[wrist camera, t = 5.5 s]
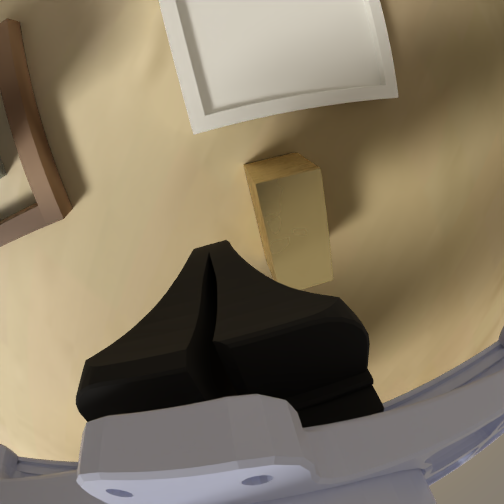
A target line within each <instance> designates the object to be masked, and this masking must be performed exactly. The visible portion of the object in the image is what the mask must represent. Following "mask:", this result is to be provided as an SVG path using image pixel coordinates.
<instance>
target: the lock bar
mask: <svg viewBox="0 0 504 504" xmlns="http://www.w3.org/2000/svg"><path fill="white" fill-rule="evenodd" d="M244 168H245V173H246V177H247V181H248V185H249V189H250V193H251V198H252V202H253V206H254V210H255V215H256V219H257V223H258V227H259V232H260V236H261V240H262V244H263V249H264V253H265V257H266V261H267V264H268V266H269V269H270V271H271V274H272V276H273V279H274V281H276V282H278V283H281V284H283V285H286V286H289V287H291V288H294V289H298V290H303V289H306V288H309V287H313V286H316V285H319V284H323V283H326V282H329V281H332V280H333V271H332V260H331V249H330V239H329V230H328V221H327V212H326V204H325V196H324V189H323V181H322V174H321V168H319V167H318V166H316V165H315V164H313V163H312V162H310V161H309V160H307V159H306V158H304V157H303V156H301V155H300V154H298V153H297V152H295V153H290V154H286V155H282V156H277V157H273V158H269V159H265V160H260V161H256V162H252V163H248V164H244Z"/></svg>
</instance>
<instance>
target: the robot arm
mask: <svg viewBox="0 0 504 504" xmlns="http://www.w3.org/2000/svg"><path fill="white" fill-rule="evenodd" d="M368 355H369V335H368V333H367V331H366V329H365V327H364V326H363V324H362V322H361V321H360V320H359V318H358V317H357V316H356V315H355V314H354V312H353V311H352V310H351V309H350V308H349V307H348V306H347V305H346V304H345V303H344V302H343V301H342V300H341V299H340V298H339V297H334V296H327V295H320V294H314V293H309V292H305V291H301V290H298V289H294V288H291V287H289V286H286V285H283V284H281V283H278V282H276V281H274V280H272V279H270V278H269V277H267V276H265V275H264V274H262V273H261V272H259V271H258V270H256V269H255V268H254V267H252V266H251V265H250V264H248V263H247V262H246V261H245V260H244V259H243V258H242V257H241V256H240V255H239V254H238V253H237V252H236V251H235V250H234V249H233V247H232V246H231V244H230V242H228V241H227V240H224V241H221V242H217V243H214V244H210V245H206V246H203V247H199V248H196V249H194V250H193V252H192V253H191V255H190V257H189V258H188V260H187V262H186V264H185V265H184V267H183V269H182V270H181V272H180V274H179V275H178V277H177V278H176V280H175V281H174V283H173V284H172V286H171V287H170V288H169V290H168V291H167V293H166V294H165V295H164V296H163V298H162V299H161V300H160V301H159V302H158V304H157V305H156V306H155V307H154V308H153V309H152V310H151V311H150V312H149V313H148V314H147V315H146V316H145V317H144V318H143V319H142V320H141V321H140V322H139V323H138V324H137V325H136V326H134V327H133V328H132V329H131V330H130V331H128V332H127V333H126V334H125V335H124V336H122V337H121V338H120V339H118V340H117V341H116V342H114V343H113V344H111V345H110V346H108V347H107V348H105V349H104V350H102V351H100V352H99V353H97V354H96V355H94V356H92V357H91V358H89V359H87V360H86V362H85V365H84V368H83V372H82V376H81V379H80V383H79V387H78V391H77V395H76V405H77V408H78V410H79V412H80V413H81V415H82V416H83V417H84V418H85V419H86V421H87V423H86V426H85V428H84V431H83V434H82V441H81V447H80V454H79V461H78V462H67V461H53V460H42V459H33V458H25V457H18V456H17V455H16V454H15V453H14V452H13V451H12V450H10V449H9V448H7V447H6V446H4V445H2V444H0V504H437V503H436V500H435V499H434V496H433V494H432V492H431V490H430V488H429V485H431V484H433V483H434V482H436V481H438V480H439V479H441V478H443V477H444V476H446V475H447V474H449V473H450V472H452V471H453V470H455V469H457V468H458V467H460V466H461V465H462V464H464V463H465V462H467V461H468V460H470V459H471V458H472V457H474V456H475V455H476V454H478V453H479V452H480V451H482V450H483V449H484V448H486V447H487V446H488V445H489V444H491V443H492V442H493V441H495V440H496V439H497V438H498V437H499V436H501V435H502V434H503V433H504V327H503V328H502V331H501V333H500V336H499V340H498V341H497V342H495V343H494V344H492V345H491V346H489V347H488V348H486V349H484V350H483V351H481V352H480V353H478V354H477V355H475V356H473V357H472V358H470V359H468V360H467V361H465V362H463V363H462V364H460V365H458V366H457V367H455V368H453V369H451V370H450V371H448V372H446V373H444V374H442V375H441V376H439V377H437V378H435V379H433V380H431V381H429V382H427V383H425V384H423V385H421V386H419V387H417V388H415V389H413V390H411V391H409V392H407V393H405V394H403V395H401V396H398V397H396V398H394V399H392V400H390V401H387V402H385V403H383V404H382V402H381V401H380V399H379V397H378V395H377V393H376V391H375V389H374V387H373V386H372V384H373V378H372V376H371V374H370V372H369V371H368V369H367V366H368Z"/></svg>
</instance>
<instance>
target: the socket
mask: <svg viewBox="0 0 504 504" xmlns="http://www.w3.org/2000/svg"><path fill="white" fill-rule="evenodd" d="M0 90H1V94H2V99H3V103H4V107H5V111H6V114H7V118H8V122H9V125H10V129H11V132H12V136H13V139H14V142H15V145H16V148H17V151H18V154H19V157H20V160H21V163H22V166H23V169H24V171H25V174H26V177H27V179H28V182H29V185H30V187H31V190H32V192H33V195H34V197H35V199H36V202H37V203H35V204H33V205H31V206H29V207H27V208H25V209H23V210H21V211H19V212H17V213H15V214H13V215H11V216H9V217H7V218H5V219H3V220H1V221H0V247H1V246H3V245H5V244H7V243H9V242H11V241H14V240H16V239H18V238H20V237H22V236H24V235H27V234H29V233H31V232H33V231H36V230H38V229H40V228H43V227H45V226H47V225H50V224H52V223H54V222H57V221H59V220H62V219H64V218H65V217H66V216H67V214H68V213H69V212H70V211H71V210H72V209H73V208H72V206H71V203H70V201H69V199H68V196H67V194H66V191H65V189H64V186H63V184H62V181H61V178H60V176H59V173H58V170H57V168H56V165H55V162H54V159H53V156H52V153H51V150H50V148H49V145H48V141H47V138H46V135H45V132H44V129H43V126H42V122H41V119H40V115H39V112H38V108H37V105H36V101H35V97H34V93H33V89H32V85H31V81H30V76H29V72H28V67H27V62H26V57H25V52H24V47H23V41H22V34H21V28H20V22H18V21H14V20H11V19H6V20H4V21H3V22H1V23H0Z"/></svg>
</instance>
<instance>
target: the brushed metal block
mask: <svg viewBox="0 0 504 504" xmlns="http://www.w3.org/2000/svg"><path fill="white" fill-rule="evenodd" d="M5 175H7V174H6V172H5V169H4V166H3V163H2V160H1V157H0V178H2V177H4V176H5Z"/></svg>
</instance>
